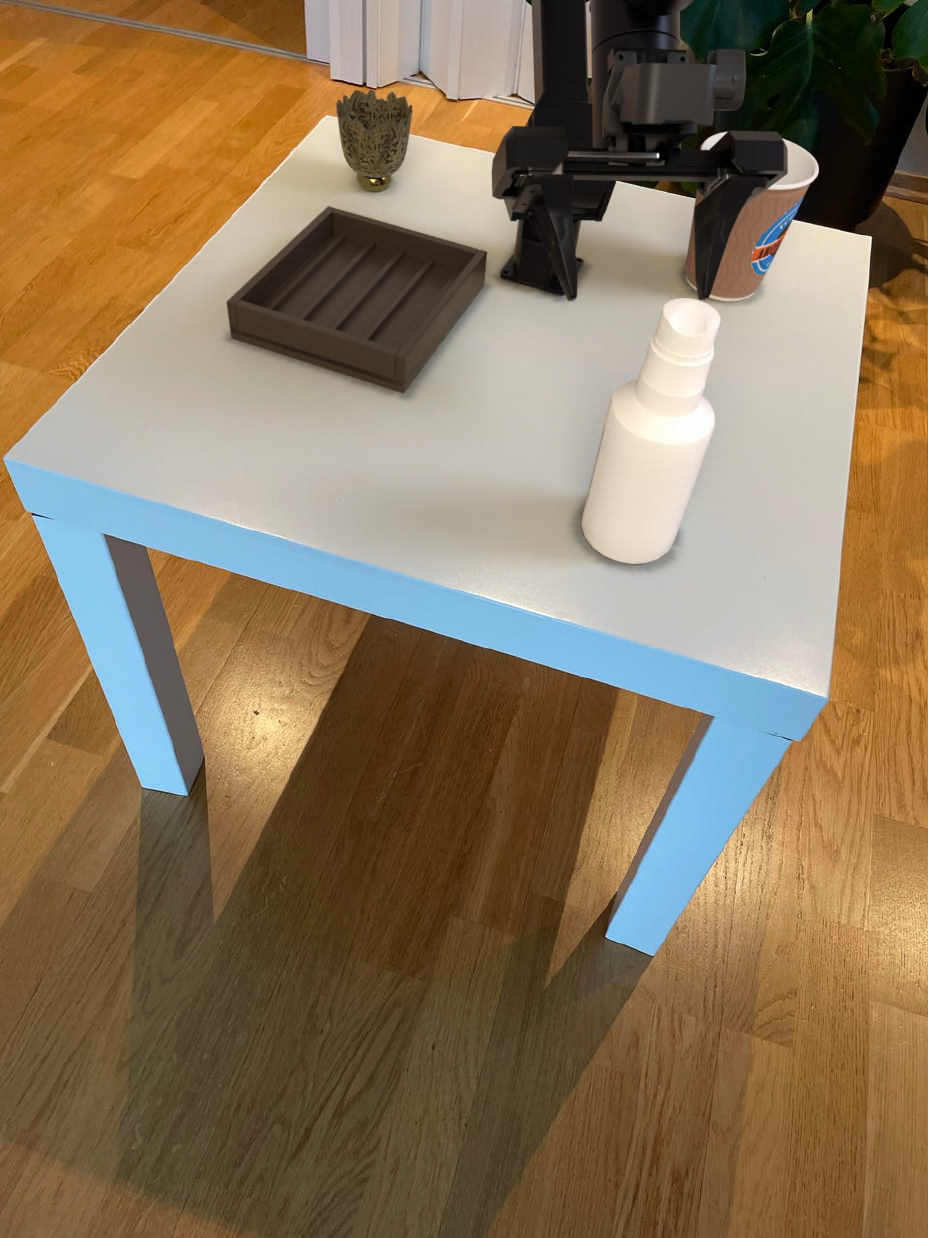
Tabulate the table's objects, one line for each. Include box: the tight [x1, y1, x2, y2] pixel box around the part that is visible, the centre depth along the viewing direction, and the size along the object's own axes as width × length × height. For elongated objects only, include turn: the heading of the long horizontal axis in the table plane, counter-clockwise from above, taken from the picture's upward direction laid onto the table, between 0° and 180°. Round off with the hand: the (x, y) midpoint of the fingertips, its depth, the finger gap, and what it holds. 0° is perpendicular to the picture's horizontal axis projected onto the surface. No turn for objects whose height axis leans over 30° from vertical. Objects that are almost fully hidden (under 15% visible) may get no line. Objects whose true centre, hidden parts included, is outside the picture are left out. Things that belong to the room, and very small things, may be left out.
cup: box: [335, 89, 413, 192], centre depth 95 cm, size 8×7×8 cm
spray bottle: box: [581, 297, 721, 565], centre depth 62 cm, size 7×7×18 cm
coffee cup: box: [685, 131, 820, 302], centre depth 87 cm, size 10×10×12 cm
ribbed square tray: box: [226, 205, 488, 394], centre depth 82 cm, size 18×16×4 cm
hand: (638, 299), depth 63 cm, fingers open, 9 cm apart
